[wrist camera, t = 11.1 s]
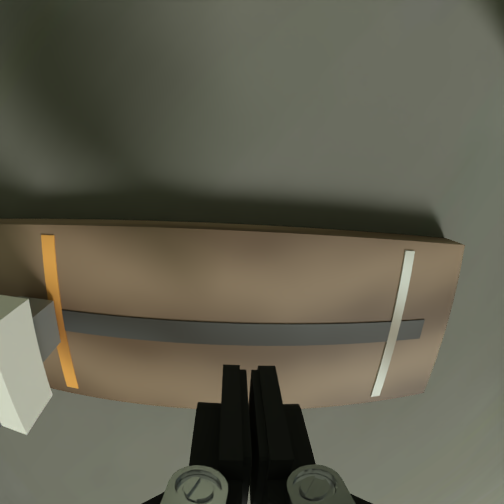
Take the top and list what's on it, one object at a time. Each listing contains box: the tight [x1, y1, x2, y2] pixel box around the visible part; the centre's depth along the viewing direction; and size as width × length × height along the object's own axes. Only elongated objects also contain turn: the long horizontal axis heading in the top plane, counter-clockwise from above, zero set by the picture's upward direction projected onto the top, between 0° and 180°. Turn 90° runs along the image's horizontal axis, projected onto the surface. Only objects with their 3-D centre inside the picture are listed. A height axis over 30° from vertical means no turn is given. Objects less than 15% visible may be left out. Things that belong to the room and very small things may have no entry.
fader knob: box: [0, 295, 61, 435], centre depth 11 cm, size 5×4×6 cm
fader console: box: [0, 219, 465, 409], centre depth 16 cm, size 10×30×2 cm, turn 86°
